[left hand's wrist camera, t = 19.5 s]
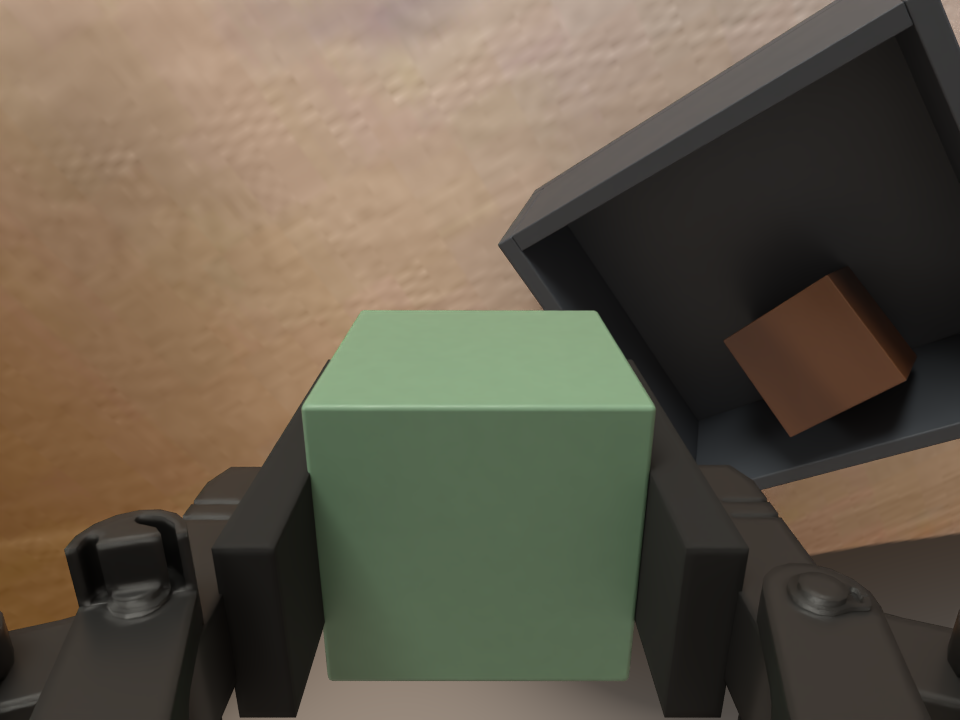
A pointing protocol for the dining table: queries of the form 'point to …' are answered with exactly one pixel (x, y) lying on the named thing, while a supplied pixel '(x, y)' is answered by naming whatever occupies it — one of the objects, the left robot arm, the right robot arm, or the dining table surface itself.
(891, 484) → the dining table surface
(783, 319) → the walnut block
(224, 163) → the dining table surface
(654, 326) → the tote
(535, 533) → the green block
